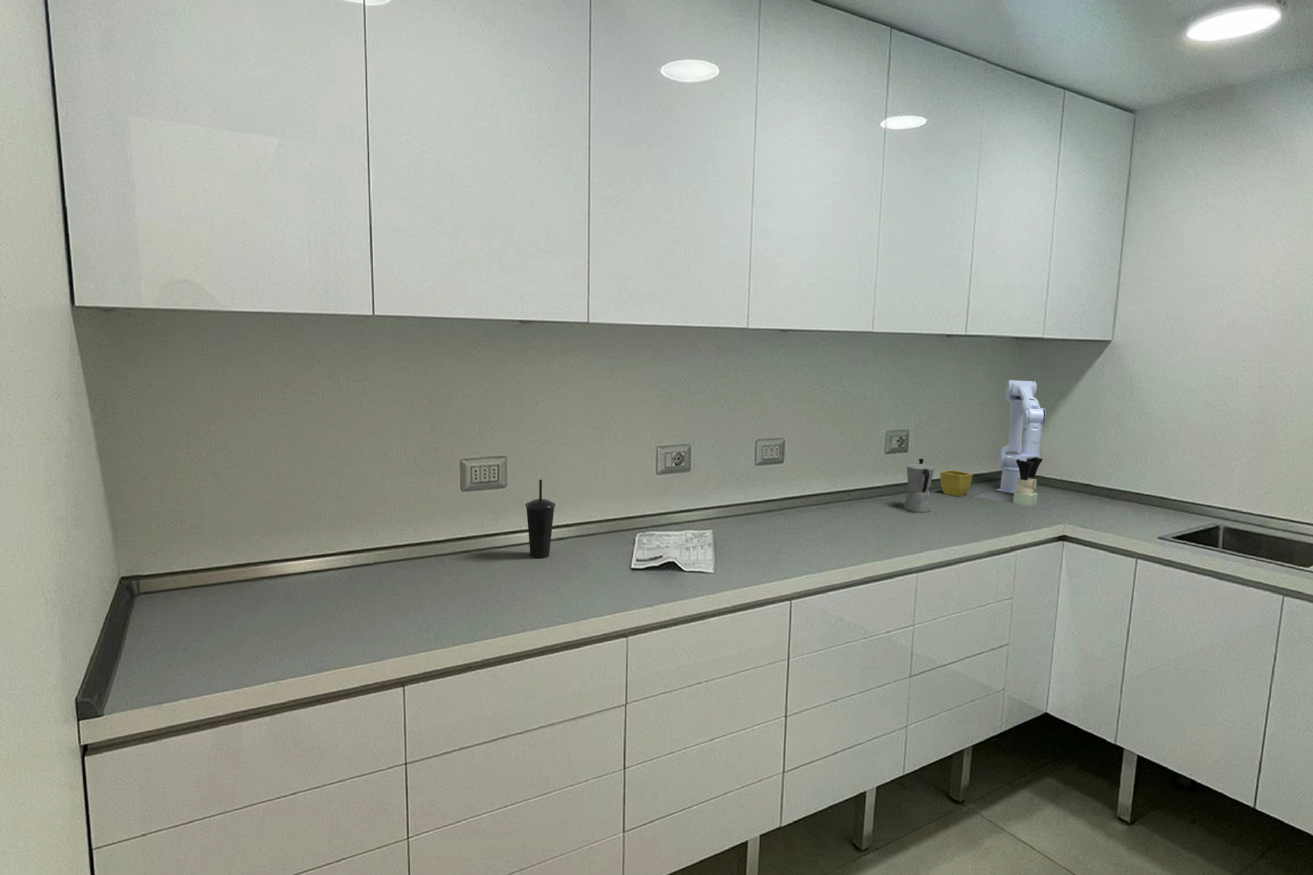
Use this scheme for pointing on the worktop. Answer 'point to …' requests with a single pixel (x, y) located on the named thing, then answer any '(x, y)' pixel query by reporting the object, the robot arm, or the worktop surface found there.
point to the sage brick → (1025, 499)
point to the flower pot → (955, 482)
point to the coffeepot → (919, 487)
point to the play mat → (1010, 499)
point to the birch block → (1026, 486)
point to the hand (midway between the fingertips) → (1027, 478)
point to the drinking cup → (540, 525)
